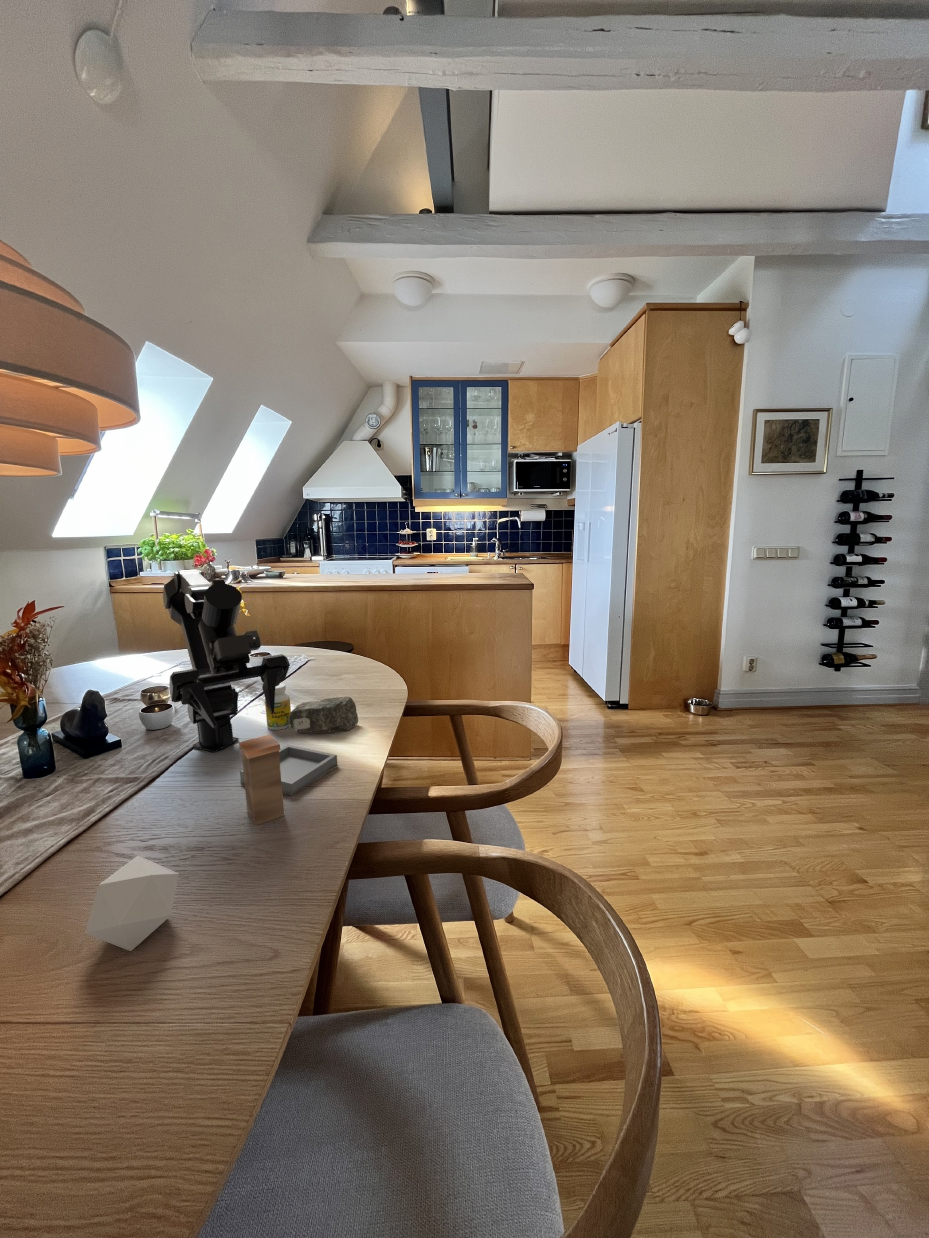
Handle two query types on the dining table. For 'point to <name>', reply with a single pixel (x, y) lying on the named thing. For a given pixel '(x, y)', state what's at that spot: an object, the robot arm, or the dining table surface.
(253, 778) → the brown block
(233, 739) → the robot arm
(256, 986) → the dining table surface
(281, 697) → the supplement bottle
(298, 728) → the stone
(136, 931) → the die
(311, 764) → the tray
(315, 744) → the dining table surface
